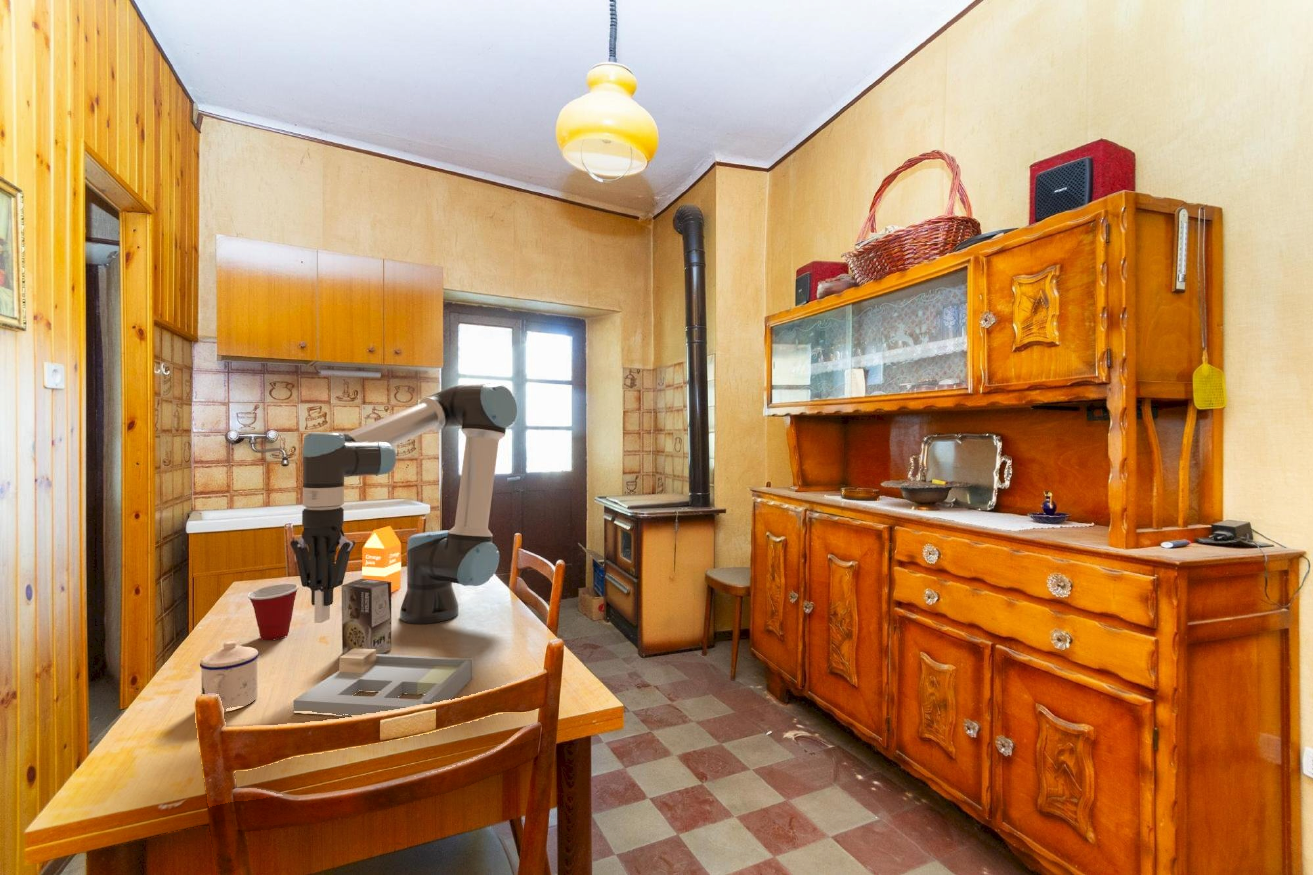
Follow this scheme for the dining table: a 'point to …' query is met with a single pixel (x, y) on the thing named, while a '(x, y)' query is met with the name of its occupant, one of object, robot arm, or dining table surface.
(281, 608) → the plastic cup
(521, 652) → the dining table surface
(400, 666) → the grey compartment tray
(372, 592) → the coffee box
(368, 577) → the orange juice
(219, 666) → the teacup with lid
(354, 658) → the block
